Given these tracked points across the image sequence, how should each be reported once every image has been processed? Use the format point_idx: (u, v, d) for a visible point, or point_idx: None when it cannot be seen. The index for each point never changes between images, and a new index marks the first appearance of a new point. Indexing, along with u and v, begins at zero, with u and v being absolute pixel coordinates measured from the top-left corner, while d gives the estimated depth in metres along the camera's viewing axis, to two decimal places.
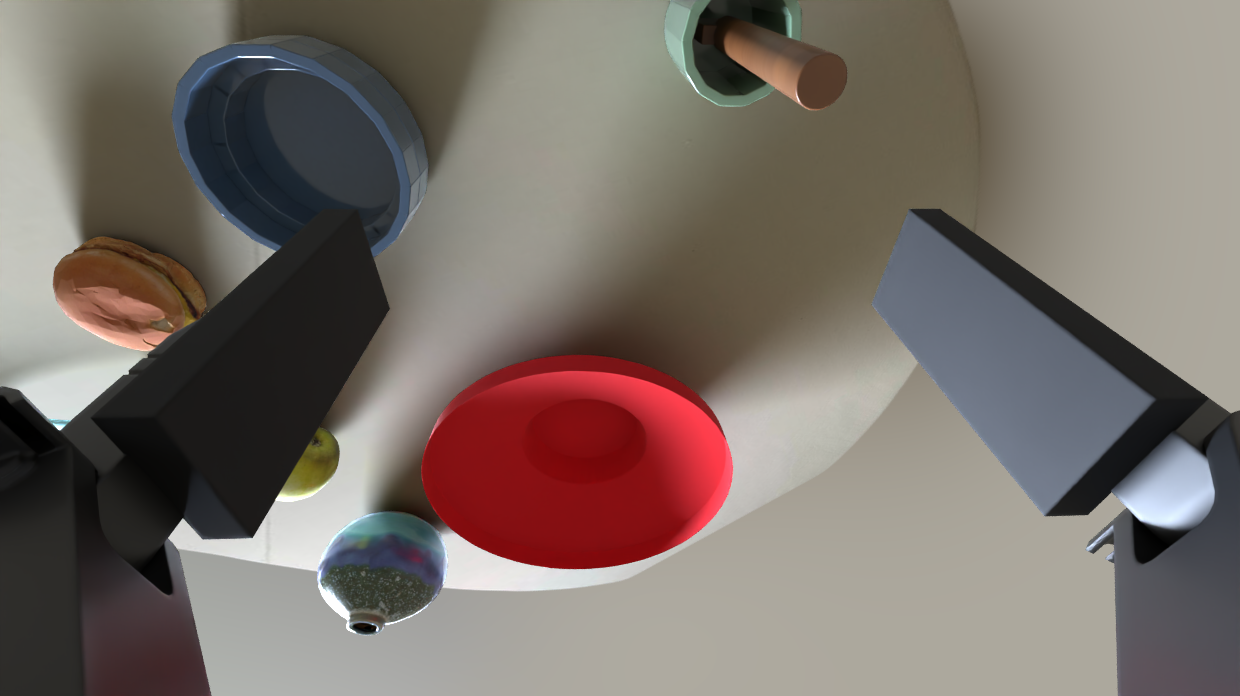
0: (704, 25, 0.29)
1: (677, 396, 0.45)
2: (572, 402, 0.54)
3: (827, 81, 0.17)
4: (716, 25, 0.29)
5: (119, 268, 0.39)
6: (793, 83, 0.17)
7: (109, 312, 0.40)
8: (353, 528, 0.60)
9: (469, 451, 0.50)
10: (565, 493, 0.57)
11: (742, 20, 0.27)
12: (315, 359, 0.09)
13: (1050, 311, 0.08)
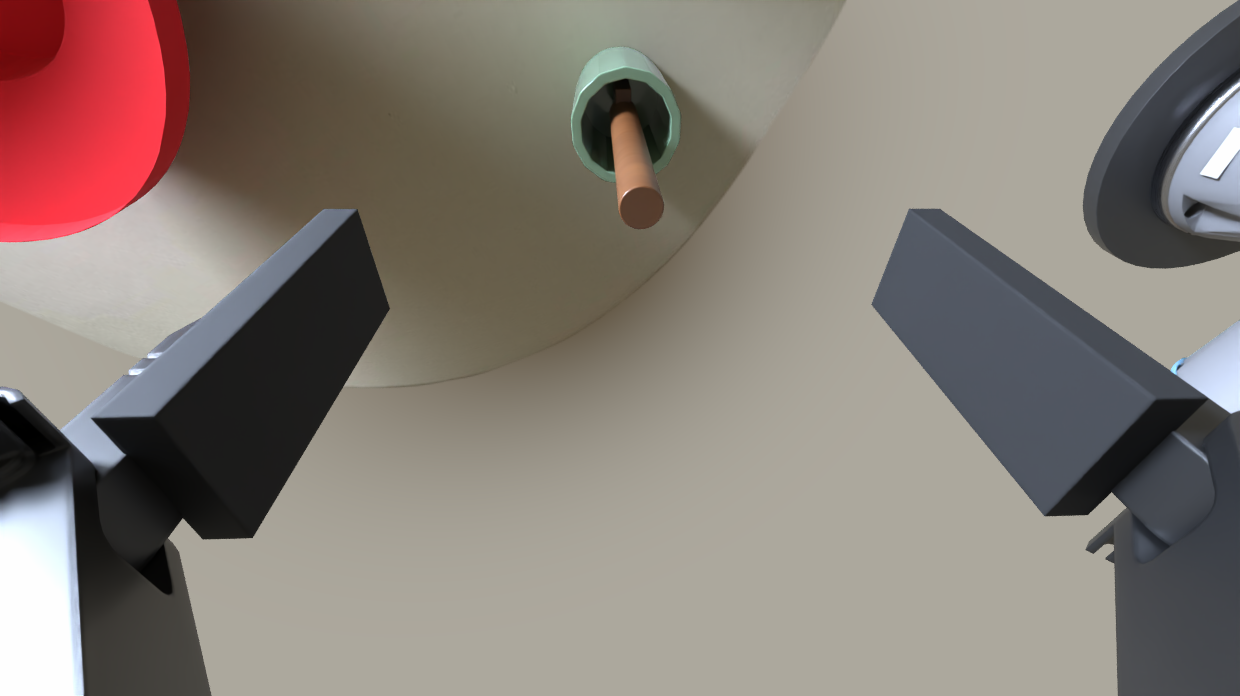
0: (630, 90, 0.30)
1: (153, 124, 0.29)
2: None
3: (642, 213, 0.19)
4: (630, 102, 0.31)
5: None
6: (639, 183, 0.19)
7: None
8: None
9: None
10: None
11: None
12: (315, 359, 0.09)
13: (1050, 311, 0.08)
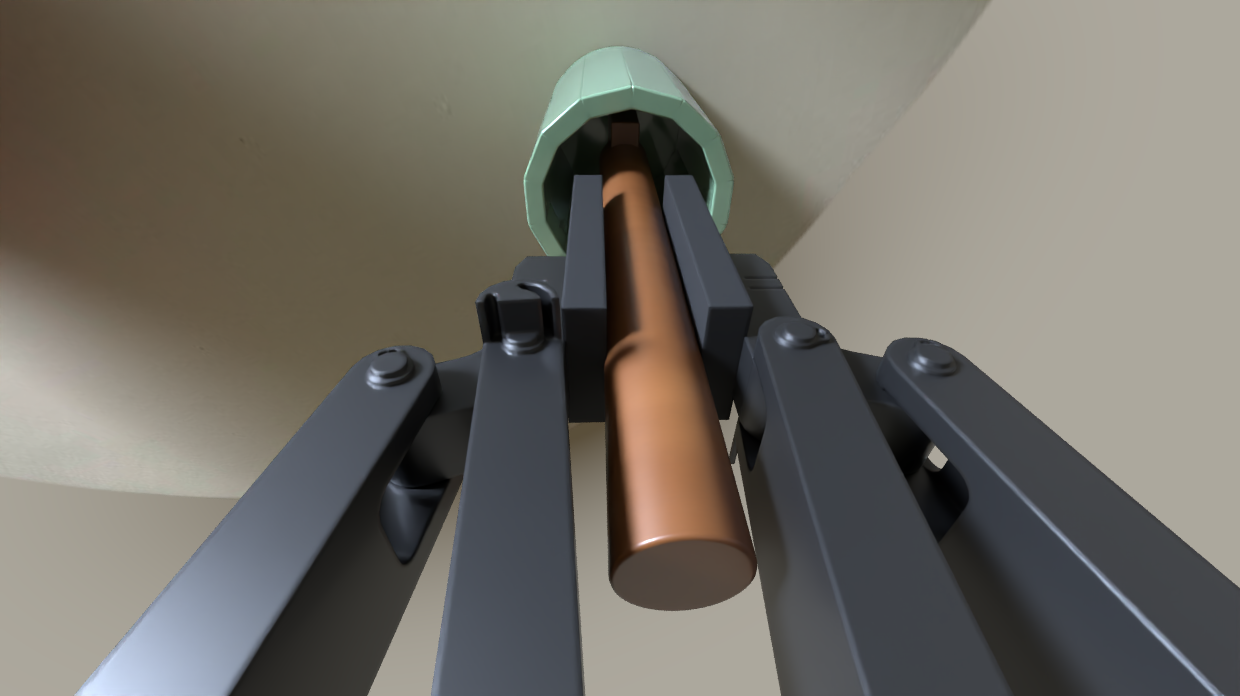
0: (638, 124, 0.17)
1: None
2: None
3: (686, 586, 0.06)
4: (638, 146, 0.17)
5: None
6: (683, 517, 0.06)
7: None
8: None
9: None
10: None
11: None
12: None
13: (698, 249, 0.10)
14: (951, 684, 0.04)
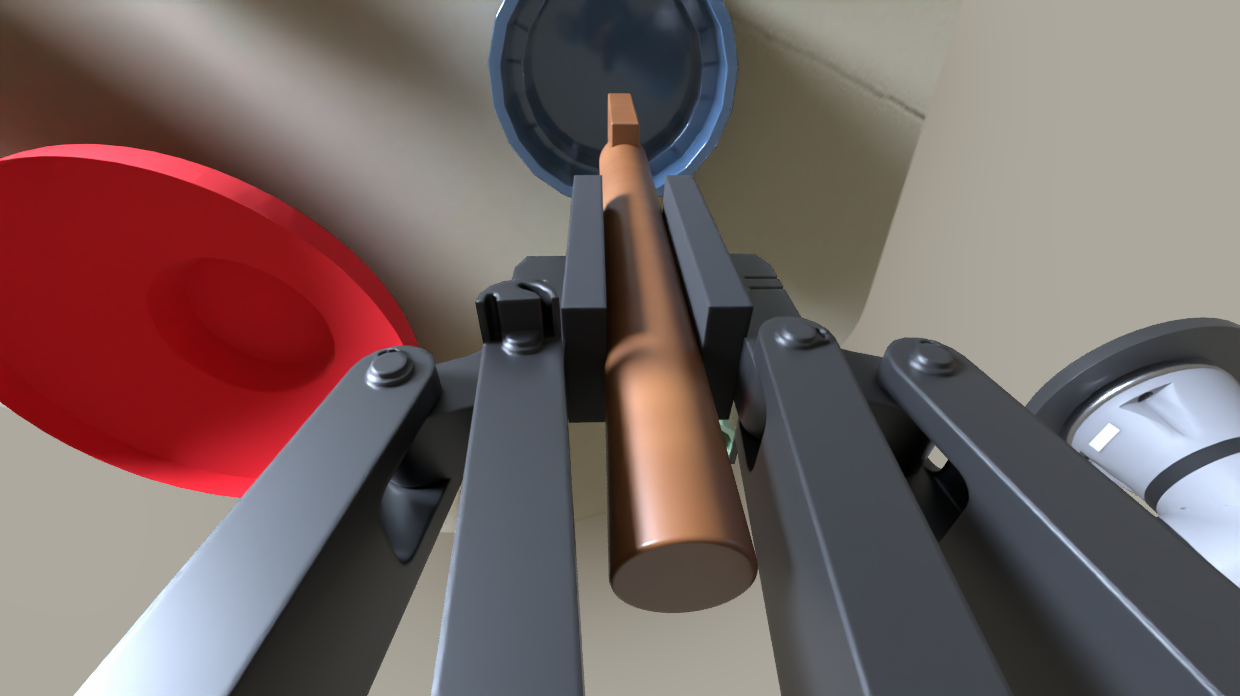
0: (638, 125, 0.17)
1: None
2: (298, 297, 0.42)
3: (687, 589, 0.06)
4: (638, 146, 0.17)
5: None
6: (684, 519, 0.06)
7: None
8: None
9: (174, 203, 0.31)
10: (123, 312, 0.37)
11: None
12: None
13: (698, 249, 0.10)
14: (951, 684, 0.04)
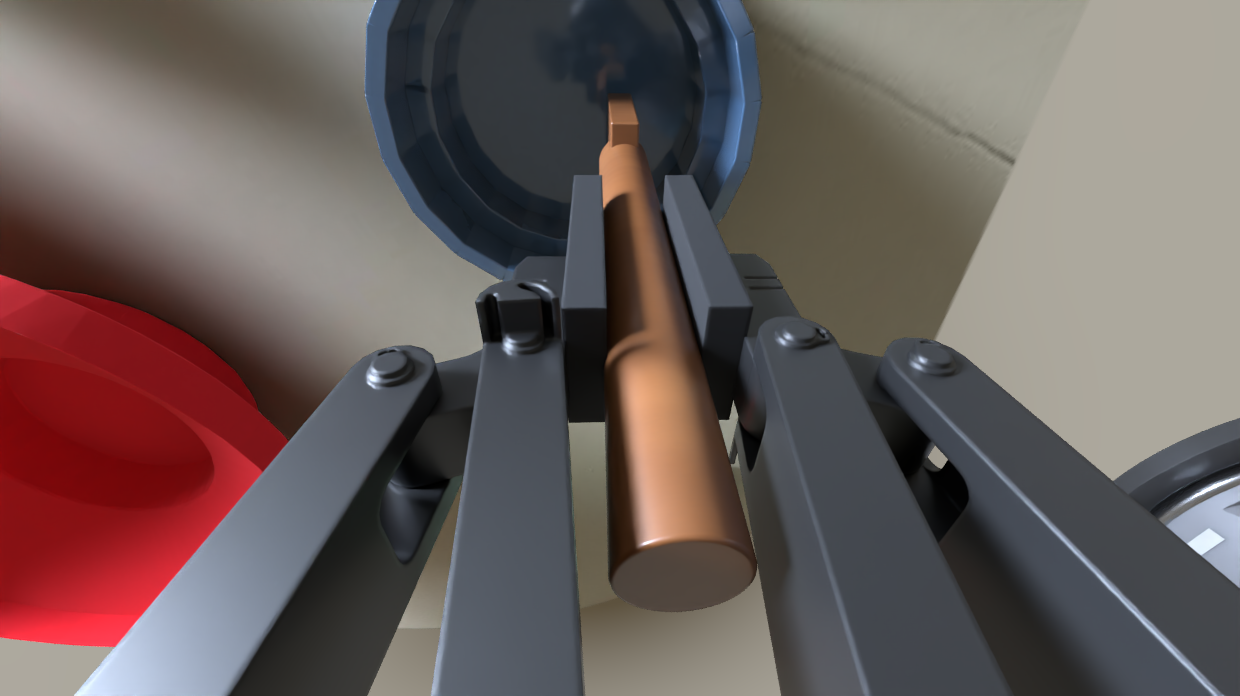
0: (638, 124, 0.17)
1: None
2: None
3: (686, 588, 0.06)
4: (637, 146, 0.17)
5: None
6: (683, 518, 0.06)
7: None
8: None
9: None
10: None
11: None
12: None
13: (698, 249, 0.10)
14: (951, 684, 0.04)
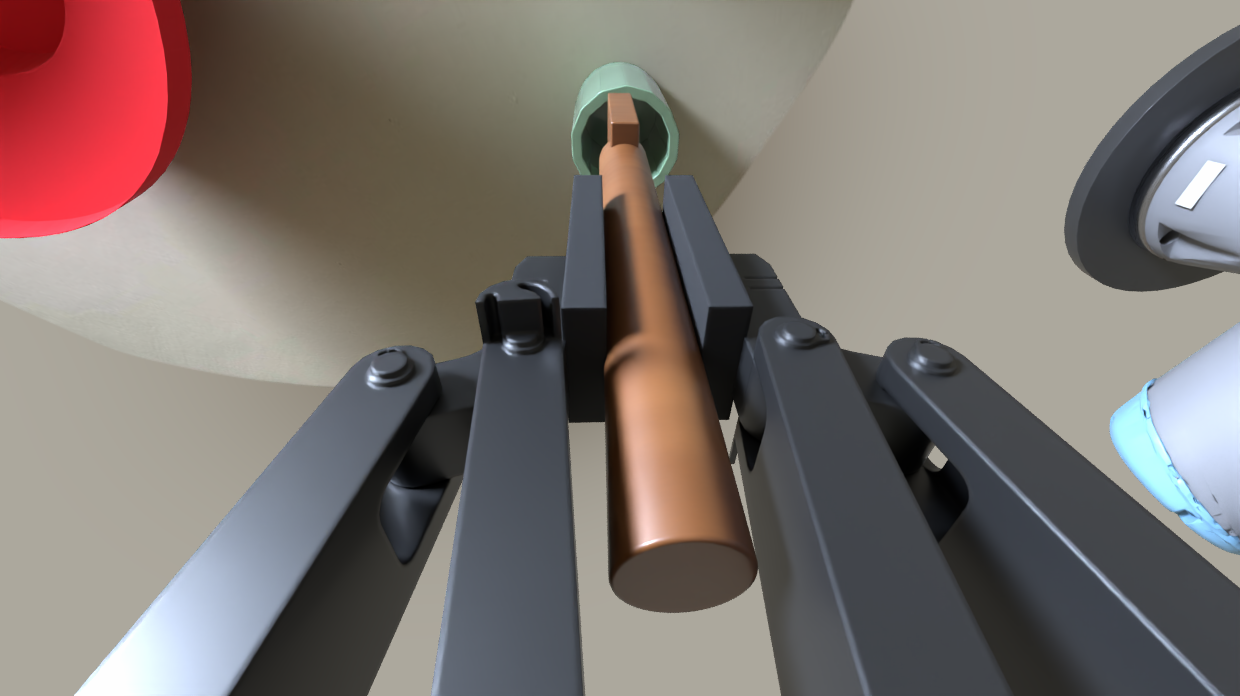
0: (638, 124, 0.17)
1: (153, 124, 0.29)
2: None
3: (686, 588, 0.06)
4: (637, 146, 0.17)
5: None
6: (684, 519, 0.05)
7: None
8: None
9: None
10: None
11: None
12: None
13: (698, 249, 0.10)
14: (951, 684, 0.04)
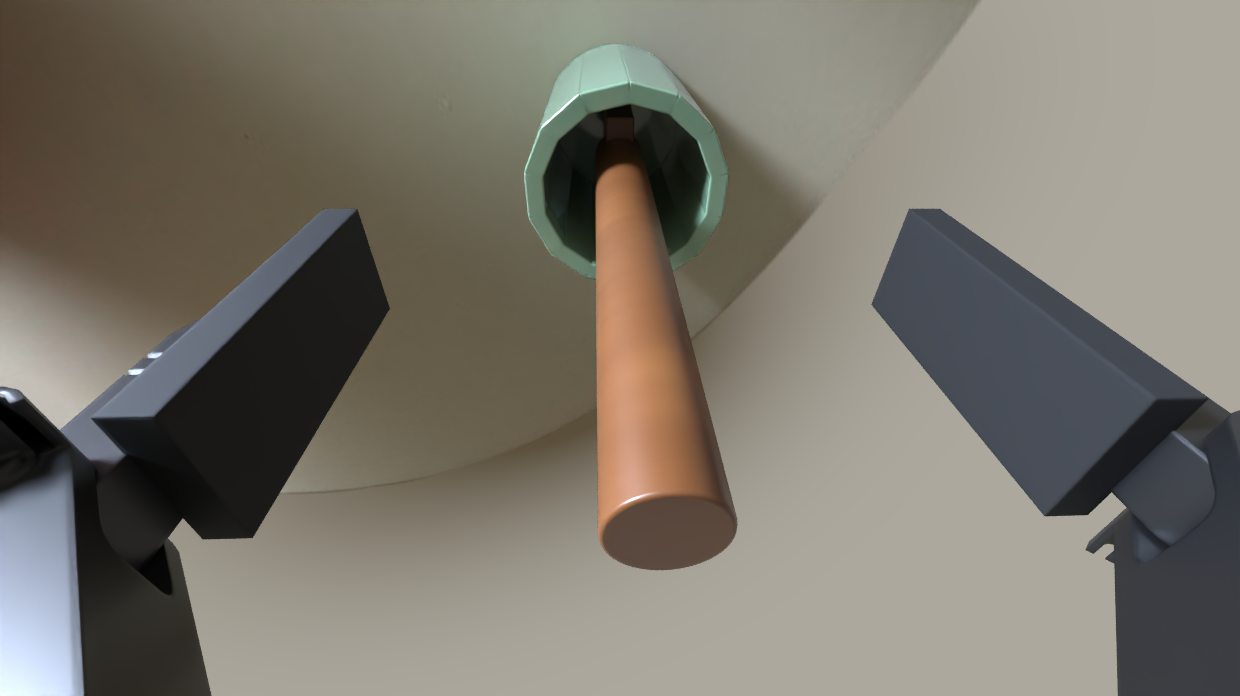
0: (633, 119, 0.17)
1: None
2: None
3: (671, 544, 0.06)
4: (632, 140, 0.18)
5: None
6: (667, 477, 0.06)
7: None
8: None
9: None
10: None
11: None
12: (315, 359, 0.09)
13: (1050, 311, 0.08)
14: None
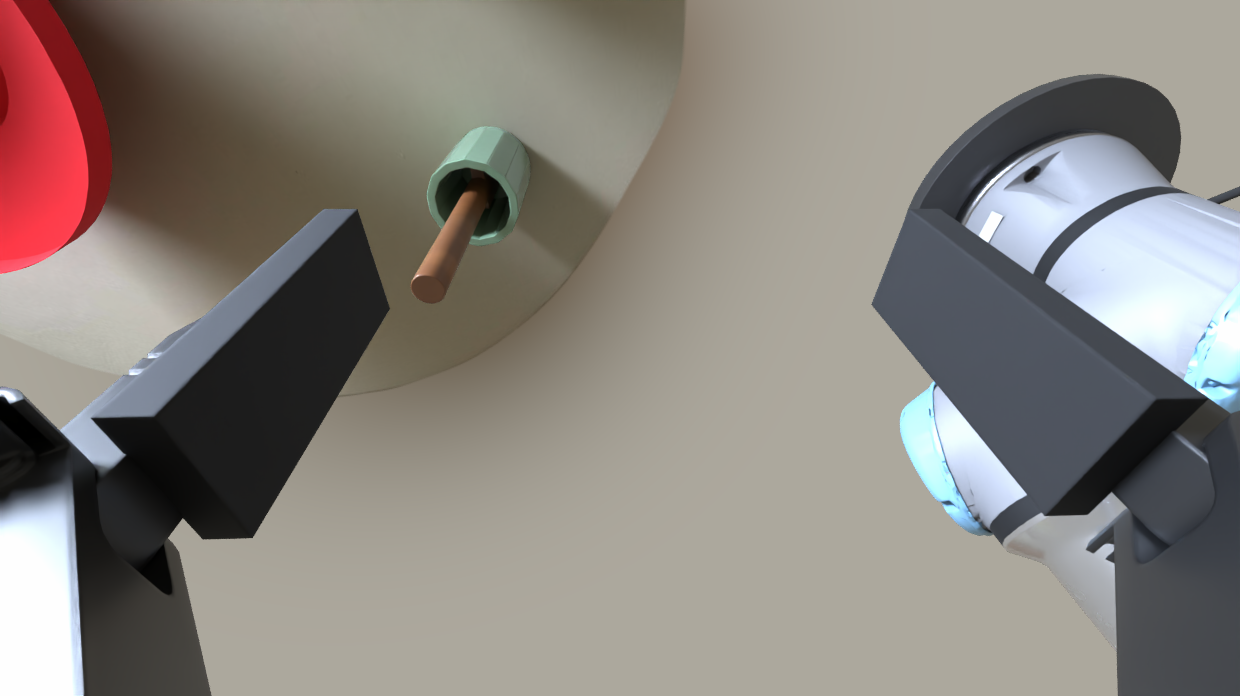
0: None
1: (82, 184, 0.35)
2: None
3: (429, 292, 0.26)
4: (484, 178, 0.37)
5: None
6: (424, 272, 0.26)
7: None
8: None
9: None
10: None
11: (486, 201, 0.36)
12: (315, 359, 0.09)
13: (1050, 311, 0.08)
14: None
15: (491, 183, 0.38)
